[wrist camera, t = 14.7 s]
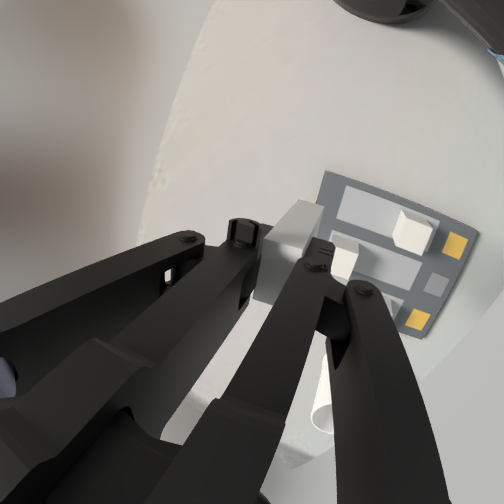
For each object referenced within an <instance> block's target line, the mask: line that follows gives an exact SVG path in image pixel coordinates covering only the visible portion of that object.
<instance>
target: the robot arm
mask: <svg viewBox="0 0 504 504" xmlns="http://www.w3.org/2000/svg"><path fill="white" fill-rule="evenodd" d="M334 1H335V2H336V3H337V4H338V5H339V6H341V7H342V8H343V9H345V10H346V11H348V12H350V13H352V14H354V15H356V16H358V17H361V18H363V19H366V20H370V21H374V22H378V23H387V24H397V23H405V22H409V21H412V20H414V19H416V18H418V17H420V16H421V15H423V14H424V13H425V12H426V11H427V9H428V8H429V6H430V4H431V2H432V0H334ZM437 1H438V2H440V3H441V4H442V5H443V6H444V7H445V8H447V9H448V10H449V11H450V12H451V13H452V14H453V15H454V16H456V17H457V18H458V19H459V20H460V21H461V22H462V23H463V24H464V25H465V26H466V27H467V28H468V29H469V30H470V31H471V32H472V33H473V34H474V35H475V36H476V37H477V38H478V39H479V40H480V41H481V42H482V43H483V44H484V45H485V46H486V49H487V51H488V52H489V53H490V54H491V55H493V56H494V57H496V58H497V59H498V60H499V61H500V62H501V63H502V64H503V65H504V0H437ZM323 209H324V206H321V205H318V204H314V203H310V202H306V201H303V200H298V201H297V202H296V203H295V204H294V205H293V206H292V207H291V209H290V210H289V211H288V212H287V213H286V214H285V215H284V216H283V217H282V219H281V220H280V221H279V222H278V223H277V224H276V225H275V226H270V225H266V224H263V223H262V224H260V223H258V222H256V221H253V220H250V219H245V218H235V219H231V220H229V225H228V233H227V240H226V241H225V242H224V243H222V244H221V245H220V246H219V247H215V246H208V245H205V237H204V236H203V235H202V234H200V233H197V232H195V231H191V230H187V231H180V232H176V233H173V234H171V235H168V236H165V237H162V238H159V239H157V240H154V241H151V242H149V243H146V244H143V245H140V246H138V247H135V248H132V249H130V250H127V251H125V252H122V253H119V254H117V255H115V256H112V257H109V258H106V259H104V260H101V261H99V262H96V263H94V264H91V265H89V266H86V267H84V268H81V269H79V270H76V271H74V272H71V273H69V274H66V275H64V276H62V277H59V278H57V279H55V280H52V281H50V282H47V283H45V284H43V285H40V286H38V287H35V288H33V289H31V290H29V291H26V292H24V293H22V294H19V295H17V296H15V297H13V298H10V299H8V300H6V301H4V302H2V303H0V504H271V503H270V502H269V501H268V500H267V498H266V497H265V496H264V495H263V494H262V493H261V492H260V488H261V486H262V484H263V481H264V479H265V477H266V474H267V471H268V469H269V467H270V465H271V462H272V460H273V457H274V454H275V452H276V449H277V447H278V444H279V442H280V439H281V436H282V433H283V431H284V428H285V421H286V418H287V415H288V412H289V410H290V407H291V404H292V401H293V398H294V395H295V392H296V389H297V386H298V383H299V380H300V377H301V374H302V371H303V368H304V365H305V362H306V359H307V355H308V352H309V349H310V346H311V342H312V339H313V336H314V332H315V330H316V331H318V332H320V333H321V334H323V335H325V336H327V338H326V342H325V344H326V352H327V361H328V370H329V380H330V390H331V401H332V413H333V426H334V441H335V456H336V457H335V458H336V478H337V479H336V480H337V504H452V503H451V501H450V500H449V496H448V491H447V486H446V482H445V478H444V473H443V468H442V464H441V460H440V457H439V452H438V449H437V445H436V442H435V438H434V434H433V431H432V427H431V424H430V421H429V417H428V414H427V411H426V408H425V405H424V401H423V398H422V395H421V393H420V390H419V387H418V384H417V381H416V378H415V375H414V372H413V370H412V367H411V364H410V361H409V359H408V356H407V354H406V351H405V348H404V346H403V343H402V341H401V338H400V336H399V333H398V331H397V328H396V326H395V323H394V321H393V319H392V316H391V314H390V312H389V309H388V307H387V305H386V302H385V300H384V298H383V296H382V293H381V292H380V290H379V289H378V288H377V287H376V286H374V285H373V284H372V283H369V282H368V281H363V280H357V279H354V280H350V281H349V282H348V283H347V285H344V284H342V283H340V282H338V281H337V280H336V279H334V278H333V276H332V275H331V266H332V262H333V258H334V253H335V249H336V247H335V245H334V244H333V242H330V241H326V240H323V239H319V238H317V234H318V230H319V226H320V222H321V218H322V213H323ZM169 269H171V280H170V281H168V282H165V272H166V271H167V270H169ZM253 290H254V294H253V299H255V300H258V301H261V302H264V303H267V304H270V305H273V307H272V309H271V311H270V312H269V314H268V316H267V318H266V320H265V322H264V323H263V325H262V327H261V329H260V331H259V332H258V334H257V336H256V338H255V340H254V341H253V343H252V345H251V347H250V348H249V350H248V352H247V354H246V356H245V357H244V359H243V361H242V363H241V364H240V366H239V368H238V370H237V371H236V373H235V375H234V376H233V378H232V380H231V382H230V383H229V385H228V387H227V388H226V390H225V392H224V393H223V395H222V396H221V398H220V399H217V398H215V399H214V400H212V401H211V403H210V404H209V406H208V407H207V408H206V410H205V412H204V413H203V415H202V417H201V418H200V419H199V421H198V423H197V424H196V426H195V427H194V429H193V430H192V432H191V433H190V435H189V437H188V438H187V440H186V441H185V443H184V444H183V446H182V445H178V444H174V443H170V442H166V441H162V440H160V437H161V433H162V431H163V428H164V427H165V425H166V423H167V422H168V421H169V419H170V418H171V417H172V415H173V414H174V412H175V411H176V409H177V408H178V406H179V405H180V404H181V402H182V401H183V400H184V398H185V397H186V395H187V394H188V392H189V391H190V390H191V388H192V387H193V385H194V384H195V382H196V381H197V380H198V378H199V377H200V375H201V374H202V372H203V371H204V369H205V368H206V367H207V365H208V364H209V362H210V361H211V359H212V358H213V356H214V355H215V353H216V352H217V351H218V349H219V348H220V346H221V345H222V343H223V342H224V340H225V339H226V337H227V336H228V334H229V333H230V331H231V330H232V328H233V327H234V325H235V324H236V322H237V321H238V319H239V318H240V316H241V315H242V313H243V312H244V311H245V309H246V308H247V306H248V304H249V300H250V294H251V293H252V291H253Z"/></svg>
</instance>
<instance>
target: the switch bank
mask: <svg viewBox="0 0 504 504" xmlns="http://www.w3.org/2000/svg"><path fill="white" fill-rule="evenodd" d="M316 204H318V205H321V206H324V209H323V213H322V218H321V222H320V226H319V230H318V234H317V238H319V239H323V240H326V241H331V239H332V236H333V234H335V235H338V236H340V237H343V238H346V239H349V240H352V241H355V242H358V243H359V255H358V257H357V260H356V262H355V265H354V267H353V270H352V272H351V275H350V277H349V280H346V279H344V278H341V277H338V276H335V275H332V274H331V275H332V276H333V278H334V279H336V280H337V281H338V282H340V283H342V284H344V285H347V283H348V282H349V281H350V280H354V279H357V280H363V281H368V282H369V283H372V284H373V285H374V286H376V287H377V288H378V289H379V290H380V292H381V293H382V296H383V297H386V298H389V299H391V306H392V314H393V315H392V319H393V321H394V323H395V326H396V328H397V331H398V332H400V333H403V334H406V335H409V336H412V337H415V338H418V339H422V338H423V337H424V335H425V334H426V332H427V331H428V329H429V327H430V326H431V324H432V322H433V321H434V319H435V317H436V316H437V314H438V312H439V310H440V309H441V307H442V305H443V303H444V301H445V300H446V298H447V296H448V294H449V292H450V290H451V288H452V286H453V285H454V283H455V281H456V279H457V277H458V275H459V273H460V271H461V268H462V266H463V264H464V262H465V260H466V258H467V256H468V253H469V251H470V249H471V247H472V244H473V242H474V240H475V237H476V235H477V232H478V231H477V230H475V229H474V228H472V227H470V226H468V225H466V224H463V223H461V222H459V221H457V220H455V219H452V218H450V217H448V216H446V215H443V214H441V213H439V212H437V211H434V210H432V209H430V208H427V207H425V206H422V205H420V204H417V203H415V202H413V201H410V200H408V199H405V198H402V197H400V196H397V195H395V194H392V193H389V192H387V191H384V190H381V189H379V188H376V187H373V186H370V185H368V184H365V183H362V182H359V181H356V180H353V179H350V178H347V177H344V176H341V175H338V174H335V173H332V172H329V171H325V173H324V176H323V180H322V184H321V187H320V191H319V194H318V198H317V201H316ZM401 209H402V210H404V211H407V212H409V213H412V214H414V215H417V216H419V217H422V218H424V219H426V220H427V221H428V223H429V224H430V225H431V227H432V228H433V230H432V232H431V235H430V237H429V240H428V242H427V244H426V247H425V249H424V252H423V254H422V256H420V255H418V254H415V253H413V252H410V251H407V250H405V249H402V248H400V247H397V246H395V243H394V240H393V237H392V233H393V231H394V228H395V226H396V223H397V220H398V217H399V215H400V212H401Z"/></svg>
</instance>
